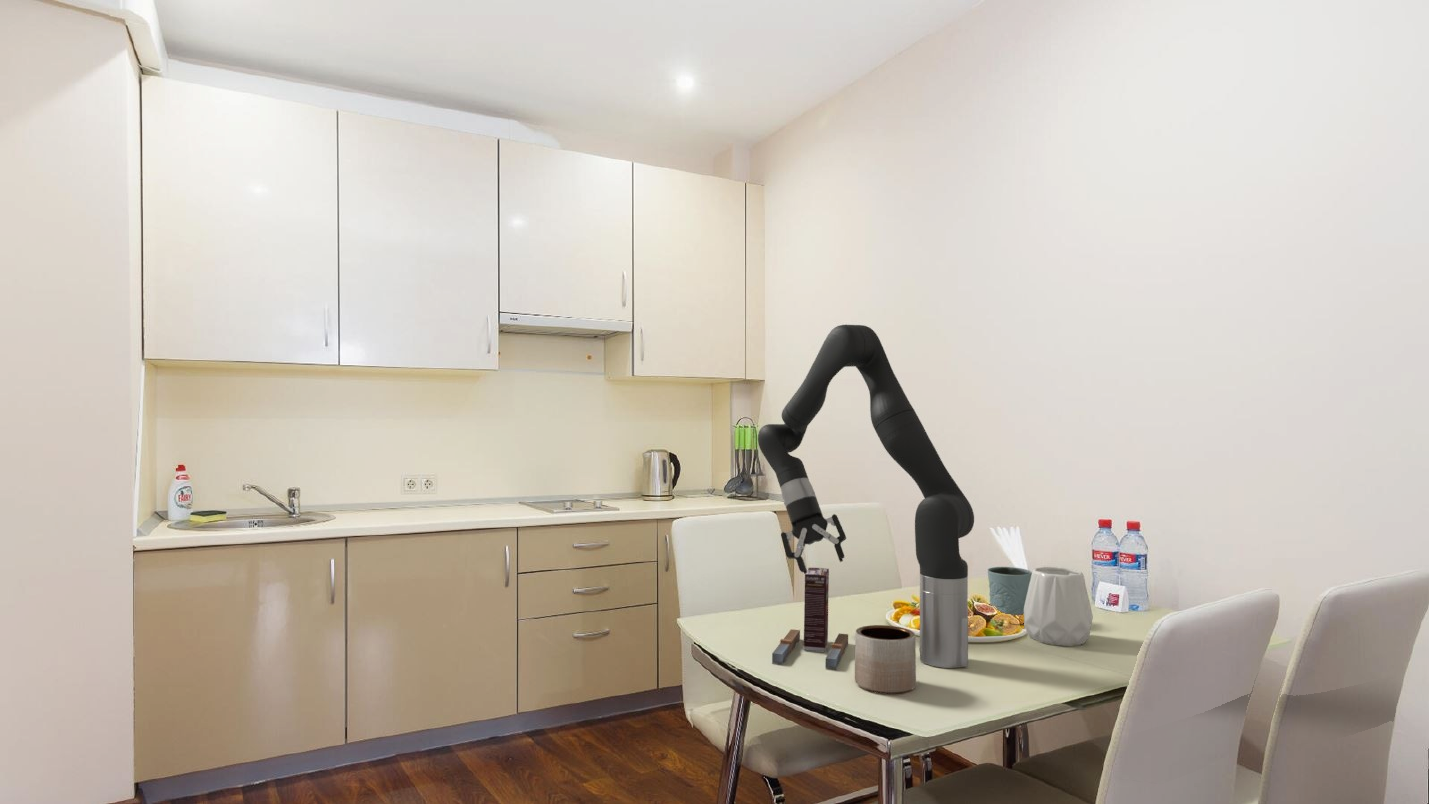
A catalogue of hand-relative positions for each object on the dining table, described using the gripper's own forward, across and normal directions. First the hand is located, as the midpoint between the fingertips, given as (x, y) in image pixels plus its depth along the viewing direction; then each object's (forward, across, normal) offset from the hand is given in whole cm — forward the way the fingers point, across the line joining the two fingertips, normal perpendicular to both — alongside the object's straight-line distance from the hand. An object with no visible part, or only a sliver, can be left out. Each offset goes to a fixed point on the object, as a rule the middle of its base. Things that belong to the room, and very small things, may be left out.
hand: (823, 567), depth 181 cm
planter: (+28, -5, +27) cm, 40 cm away
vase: (+30, -43, -13) cm, 54 cm away
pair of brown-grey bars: (+18, +7, +12) cm, 23 cm away
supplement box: (+16, +7, +7) cm, 19 cm away
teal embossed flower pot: (+22, -37, -27) cm, 51 cm away
